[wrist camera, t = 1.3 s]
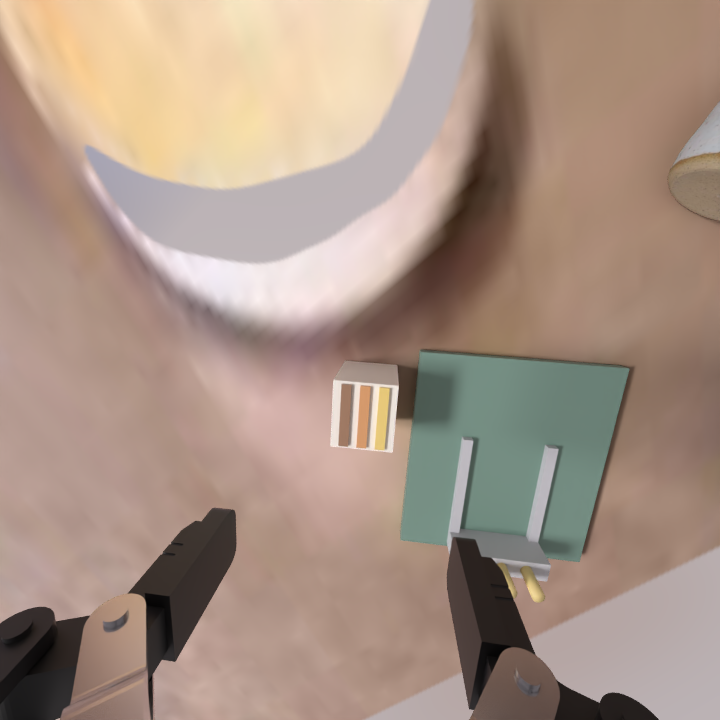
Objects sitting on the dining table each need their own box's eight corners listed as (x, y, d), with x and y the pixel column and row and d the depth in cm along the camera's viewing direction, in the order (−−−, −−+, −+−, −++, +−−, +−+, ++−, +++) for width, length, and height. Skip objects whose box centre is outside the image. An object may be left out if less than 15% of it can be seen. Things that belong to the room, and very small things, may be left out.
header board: (419, 349, 28) (428, 368, 22) (621, 365, 27) (690, 390, 20) (400, 532, 32) (402, 592, 26) (573, 553, 31) (619, 621, 25)
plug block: (345, 360, 29) (332, 380, 23) (397, 364, 28) (398, 386, 22) (342, 414, 30) (329, 447, 24) (392, 419, 30) (392, 453, 23)
